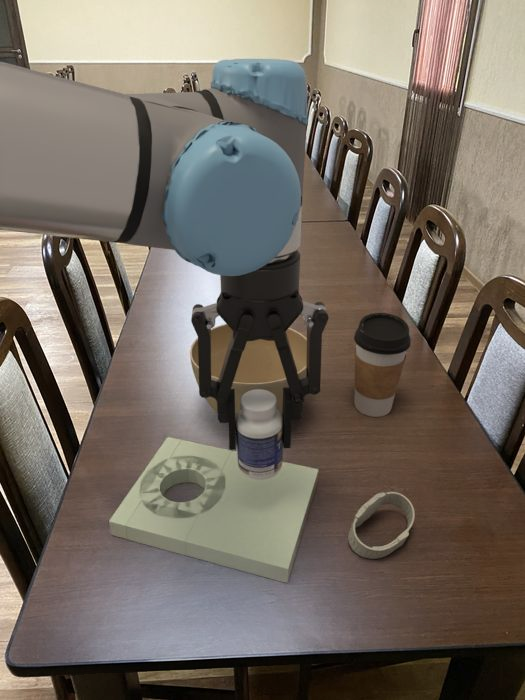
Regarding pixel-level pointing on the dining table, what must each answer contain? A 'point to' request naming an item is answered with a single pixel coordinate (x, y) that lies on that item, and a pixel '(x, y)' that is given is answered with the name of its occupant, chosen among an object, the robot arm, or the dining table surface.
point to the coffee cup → (379, 361)
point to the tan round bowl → (252, 364)
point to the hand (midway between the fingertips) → (259, 440)
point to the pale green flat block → (219, 510)
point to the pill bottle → (259, 435)
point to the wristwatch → (368, 510)
